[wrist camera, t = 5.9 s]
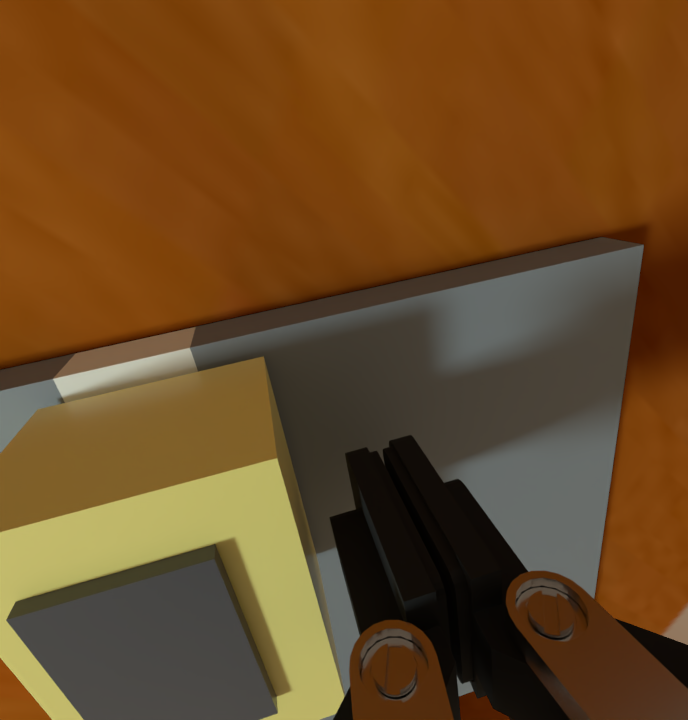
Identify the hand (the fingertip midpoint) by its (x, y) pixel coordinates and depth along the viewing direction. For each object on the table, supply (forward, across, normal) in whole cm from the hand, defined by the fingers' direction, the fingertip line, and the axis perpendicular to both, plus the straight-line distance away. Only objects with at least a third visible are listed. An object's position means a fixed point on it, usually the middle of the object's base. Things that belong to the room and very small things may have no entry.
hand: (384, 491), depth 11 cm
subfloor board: (+3, +1, +5) cm, 6 cm away
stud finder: (+2, +5, 0) cm, 5 cm away
